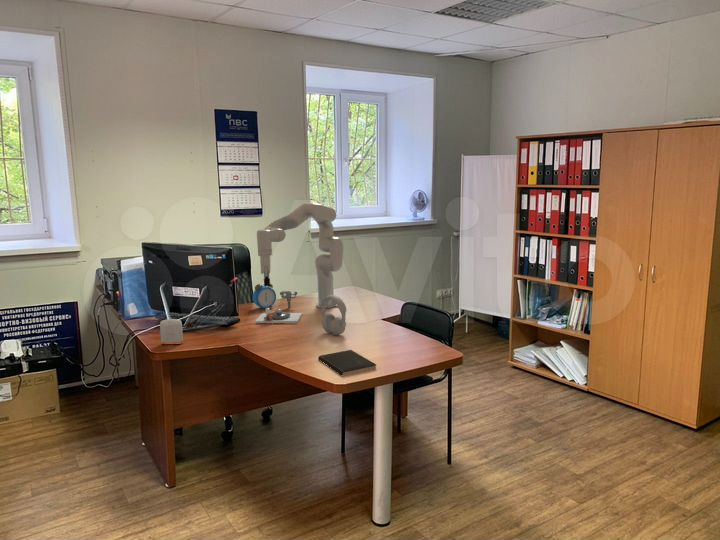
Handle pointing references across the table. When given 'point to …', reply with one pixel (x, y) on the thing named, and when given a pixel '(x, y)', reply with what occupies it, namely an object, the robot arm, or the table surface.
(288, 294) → the mechanical component
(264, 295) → the alarm clock
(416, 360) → the table surface
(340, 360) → the hardcover book
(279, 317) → the flange
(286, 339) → the table surface
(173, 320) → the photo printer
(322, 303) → the headphones
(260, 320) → the base plate
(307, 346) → the table surface
